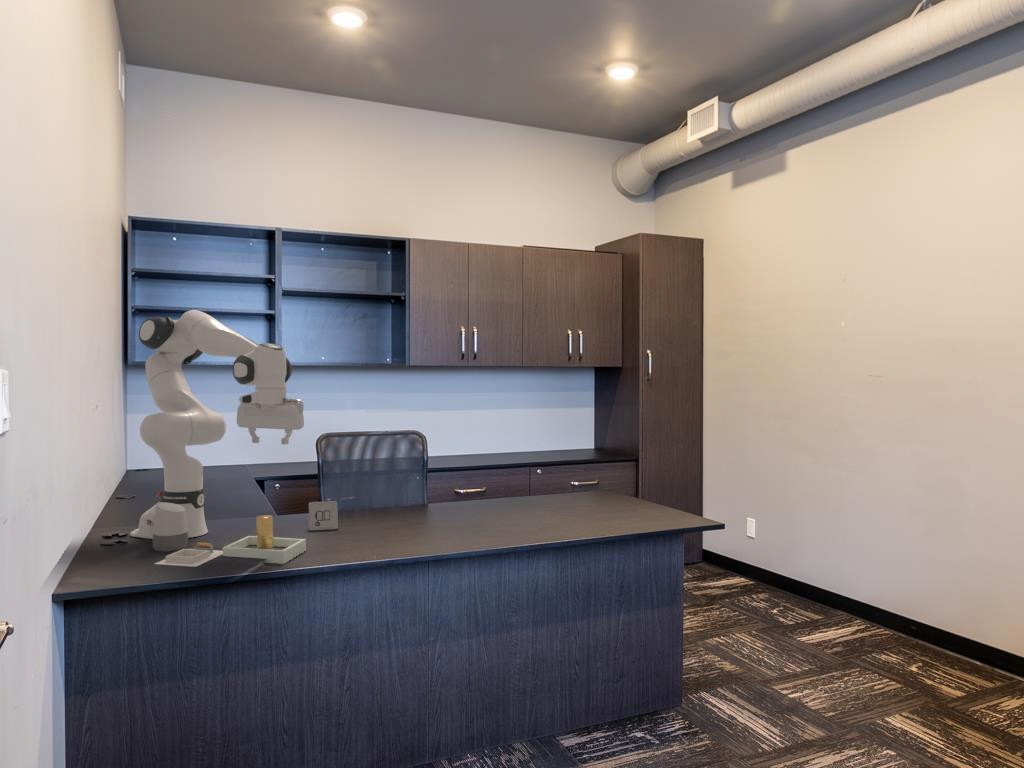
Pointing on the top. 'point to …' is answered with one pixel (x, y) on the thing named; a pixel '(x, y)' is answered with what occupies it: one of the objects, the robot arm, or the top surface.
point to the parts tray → (269, 555)
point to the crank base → (192, 556)
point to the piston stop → (264, 532)
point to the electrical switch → (323, 515)
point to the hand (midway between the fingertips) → (270, 443)
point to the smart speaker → (170, 527)
